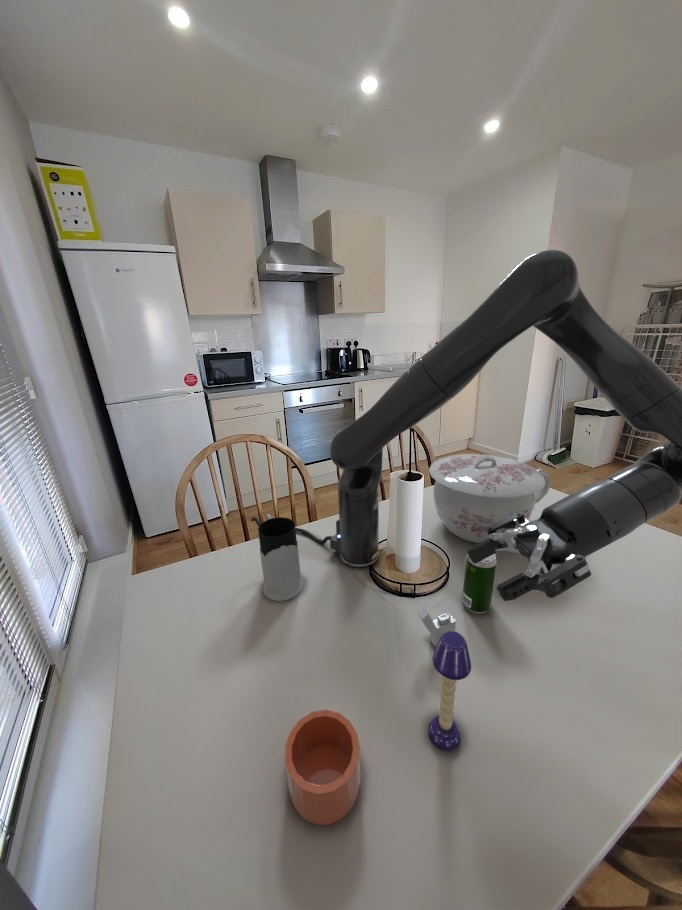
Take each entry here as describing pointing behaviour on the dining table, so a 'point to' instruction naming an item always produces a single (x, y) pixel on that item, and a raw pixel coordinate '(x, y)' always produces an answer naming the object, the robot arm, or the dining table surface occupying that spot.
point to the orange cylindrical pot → (323, 766)
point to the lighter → (437, 625)
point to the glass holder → (279, 558)
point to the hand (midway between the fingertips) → (483, 574)
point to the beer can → (479, 584)
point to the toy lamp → (449, 687)
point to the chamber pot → (484, 492)
